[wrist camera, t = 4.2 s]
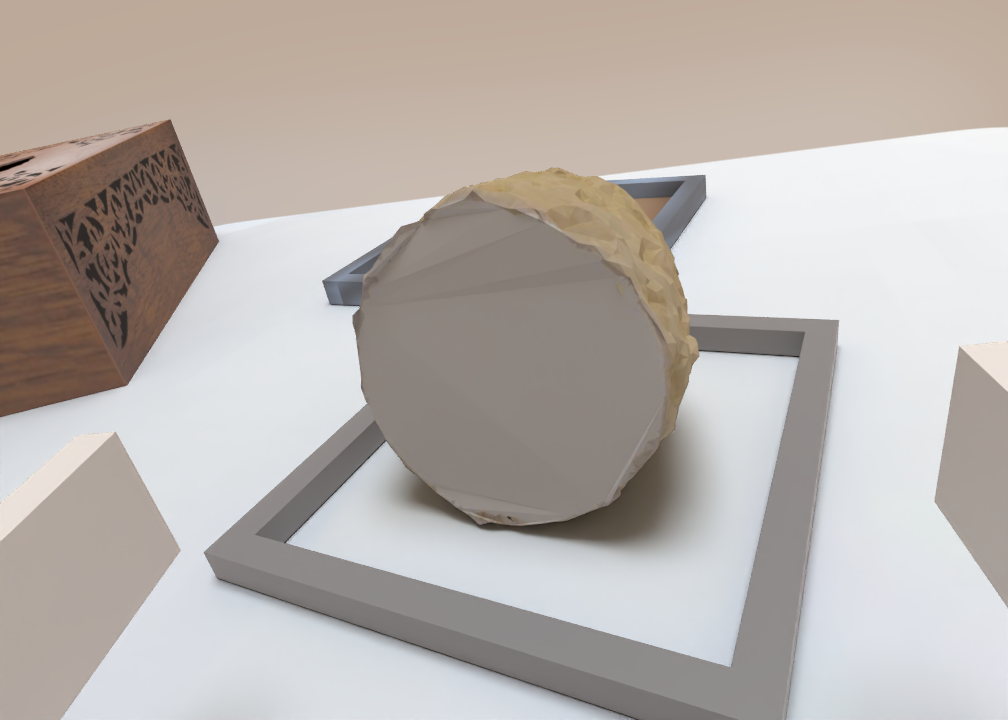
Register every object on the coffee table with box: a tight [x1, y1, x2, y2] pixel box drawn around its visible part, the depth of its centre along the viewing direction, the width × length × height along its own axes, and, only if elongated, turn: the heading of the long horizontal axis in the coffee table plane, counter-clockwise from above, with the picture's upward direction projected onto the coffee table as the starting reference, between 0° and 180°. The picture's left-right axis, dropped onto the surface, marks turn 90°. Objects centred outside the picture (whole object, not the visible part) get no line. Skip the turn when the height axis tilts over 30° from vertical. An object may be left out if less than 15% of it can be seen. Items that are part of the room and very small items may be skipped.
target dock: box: [322, 175, 706, 305], centre depth 39 cm, size 17×17×1 cm
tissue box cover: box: [0, 120, 219, 417], centre depth 41 cm, size 26×14×10 cm, turn 12°
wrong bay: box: [204, 314, 839, 720], centre depth 21 cm, size 15×16×1 cm
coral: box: [353, 168, 699, 526], centre depth 19 cm, size 10×10×10 cm
